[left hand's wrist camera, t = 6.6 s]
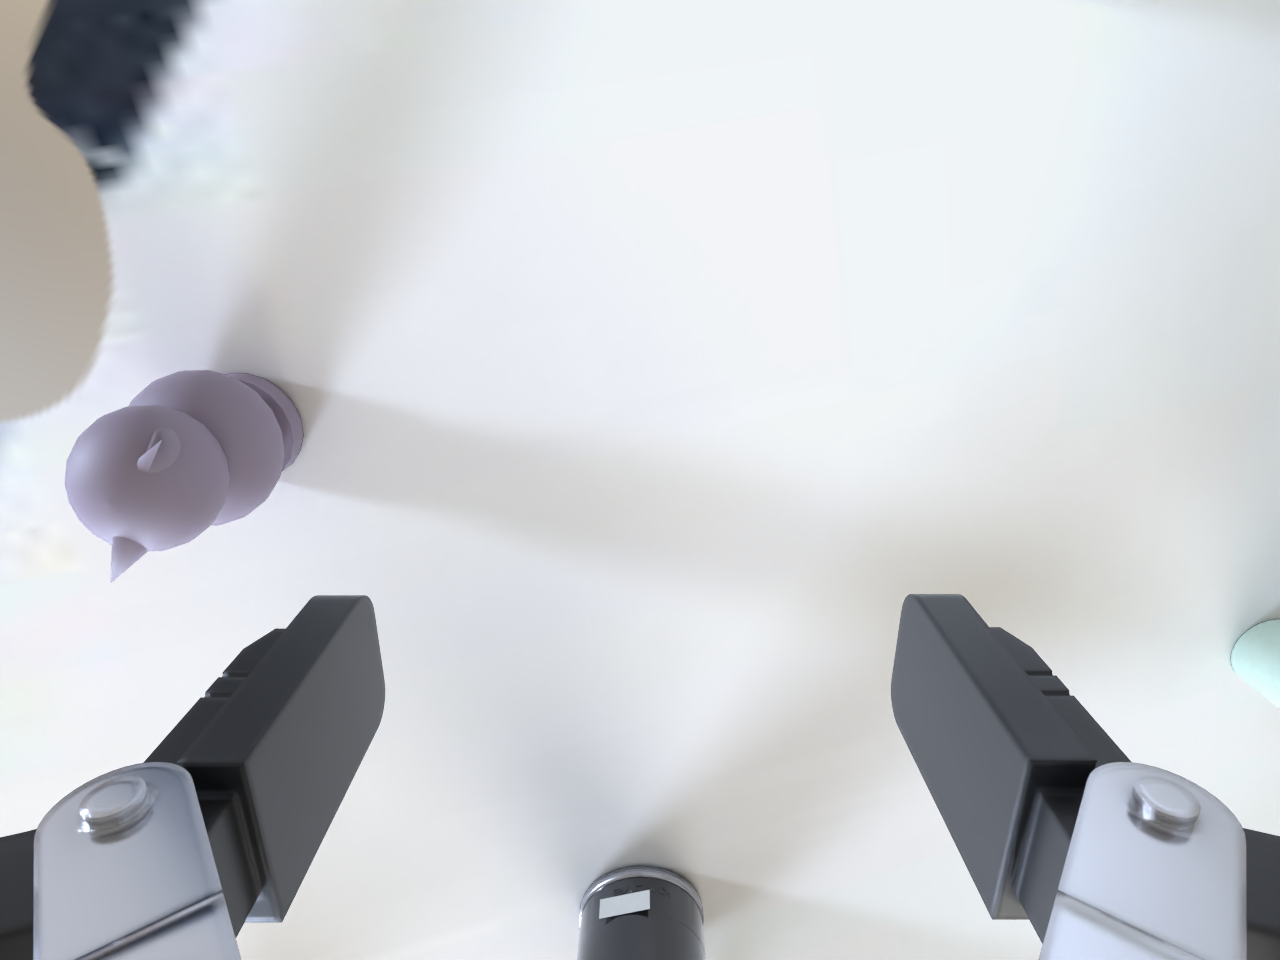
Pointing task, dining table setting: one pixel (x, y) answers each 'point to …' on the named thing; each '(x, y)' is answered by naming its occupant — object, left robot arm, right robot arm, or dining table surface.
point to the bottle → (1260, 659)
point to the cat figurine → (181, 461)
